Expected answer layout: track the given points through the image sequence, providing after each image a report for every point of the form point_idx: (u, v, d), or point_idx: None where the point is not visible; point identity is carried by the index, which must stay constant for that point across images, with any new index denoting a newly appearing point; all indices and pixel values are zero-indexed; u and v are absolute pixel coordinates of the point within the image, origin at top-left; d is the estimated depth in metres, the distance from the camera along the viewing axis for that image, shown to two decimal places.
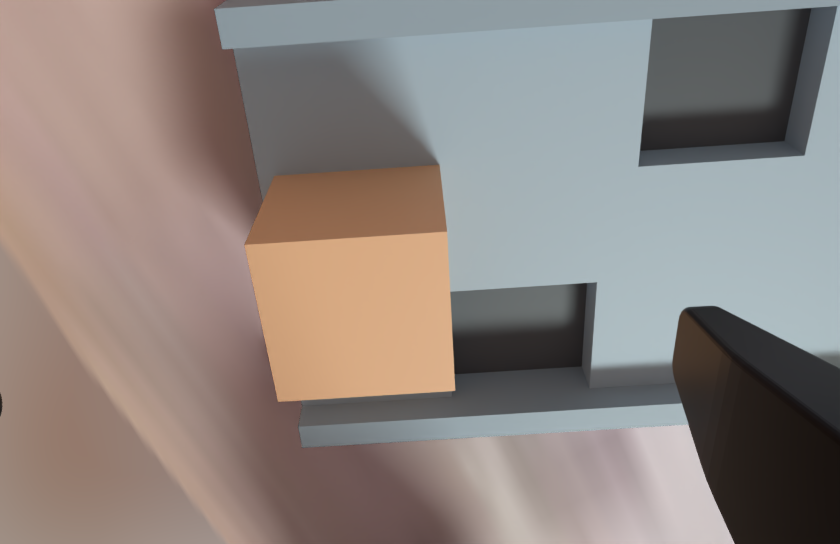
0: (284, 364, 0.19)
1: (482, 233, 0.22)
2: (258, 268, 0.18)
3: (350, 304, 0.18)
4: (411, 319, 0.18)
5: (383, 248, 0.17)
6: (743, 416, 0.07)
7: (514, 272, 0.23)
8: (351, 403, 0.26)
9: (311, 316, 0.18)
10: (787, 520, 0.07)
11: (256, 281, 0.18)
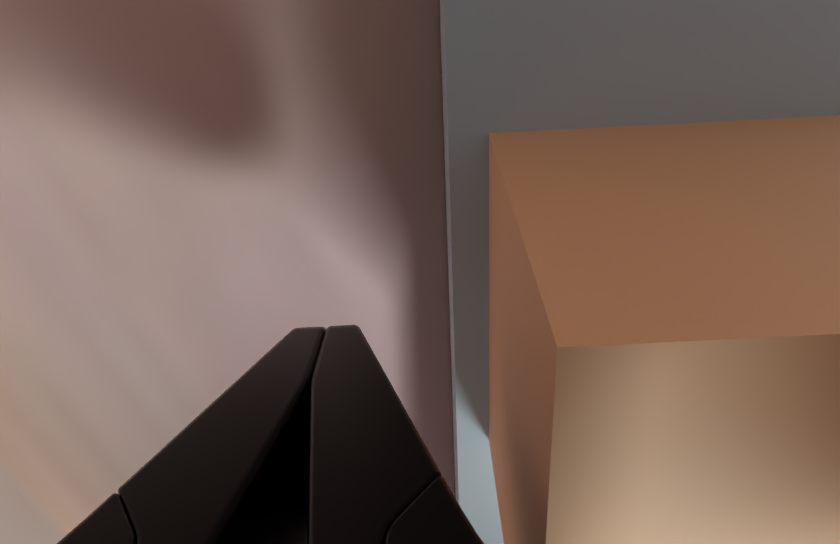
0: None
1: None
2: (583, 423, 0.05)
3: None
4: None
5: None
6: None
7: None
8: None
9: None
10: None
11: (564, 462, 0.05)
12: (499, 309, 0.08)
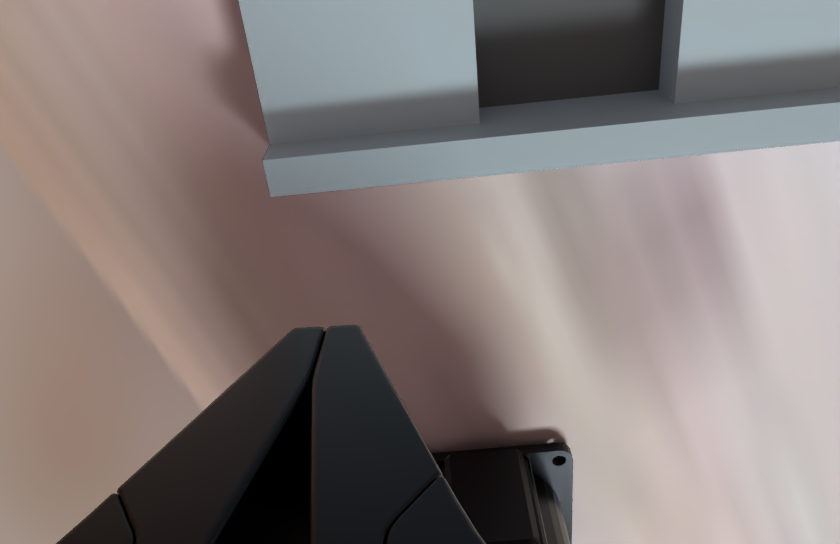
0: None
1: None
2: None
3: None
4: None
5: None
6: None
7: None
8: (338, 138, 0.18)
9: None
10: None
11: None
12: None
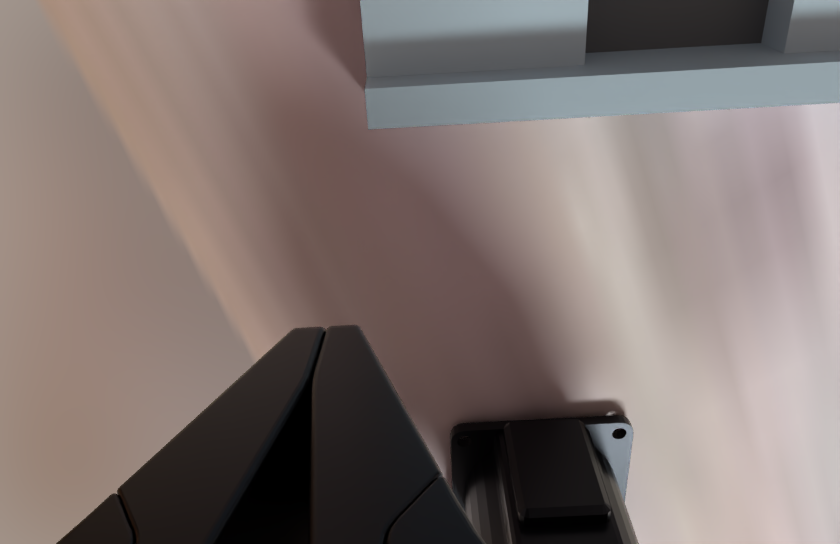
0: None
1: None
2: None
3: None
4: None
5: None
6: None
7: None
8: (438, 73, 0.18)
9: None
10: None
11: None
12: None
